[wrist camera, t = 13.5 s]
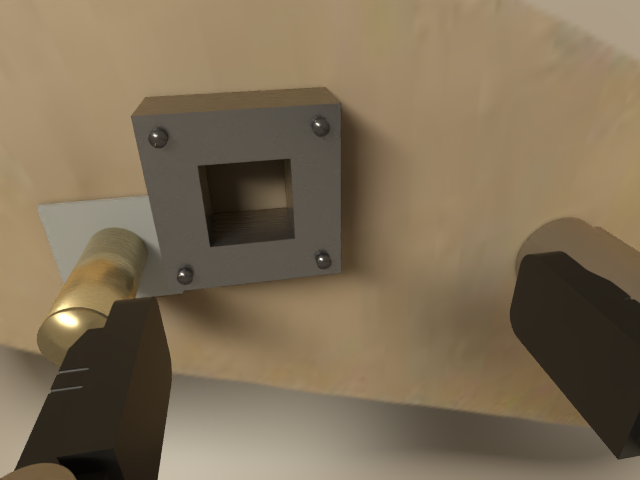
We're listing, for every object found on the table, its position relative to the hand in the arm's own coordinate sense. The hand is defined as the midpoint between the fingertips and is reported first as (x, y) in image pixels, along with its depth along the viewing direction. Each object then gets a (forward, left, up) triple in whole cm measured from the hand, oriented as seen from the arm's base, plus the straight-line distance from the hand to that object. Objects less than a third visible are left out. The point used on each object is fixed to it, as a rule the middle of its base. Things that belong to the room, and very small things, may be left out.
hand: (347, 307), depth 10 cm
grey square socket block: (+2, +8, -30) cm, 31 cm away
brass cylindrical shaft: (+14, +14, -30) cm, 36 cm away
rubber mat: (+14, +14, -30) cm, 36 cm away
